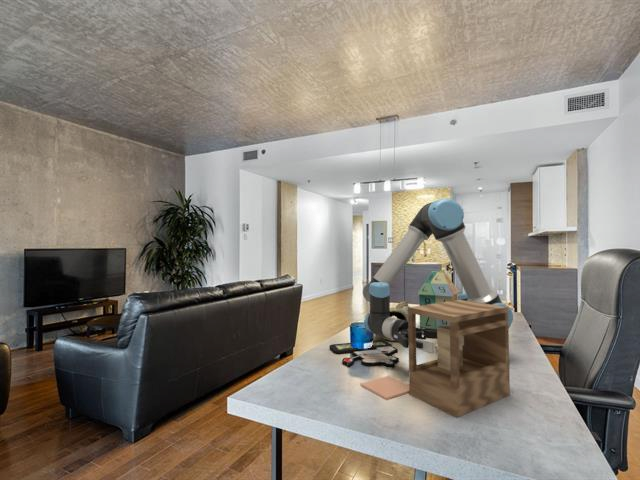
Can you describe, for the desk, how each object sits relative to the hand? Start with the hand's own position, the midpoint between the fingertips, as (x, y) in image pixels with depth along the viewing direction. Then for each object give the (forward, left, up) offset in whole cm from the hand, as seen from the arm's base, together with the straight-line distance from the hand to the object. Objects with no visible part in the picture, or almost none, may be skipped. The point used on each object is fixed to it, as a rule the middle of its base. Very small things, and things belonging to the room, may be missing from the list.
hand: (448, 344), depth 103 cm
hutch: (-1, +3, -14) cm, 14 cm away
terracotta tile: (+13, -12, -14) cm, 23 cm away
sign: (-2, -39, -15) cm, 42 cm away
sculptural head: (-28, -53, -14) cm, 61 cm away
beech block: (-1, 0, -7) cm, 7 cm away
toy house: (-59, -52, -14) cm, 80 cm away
